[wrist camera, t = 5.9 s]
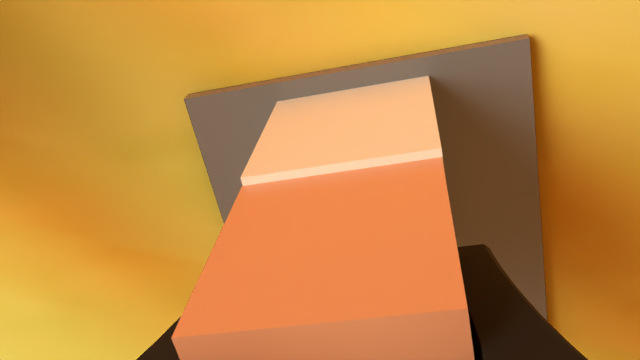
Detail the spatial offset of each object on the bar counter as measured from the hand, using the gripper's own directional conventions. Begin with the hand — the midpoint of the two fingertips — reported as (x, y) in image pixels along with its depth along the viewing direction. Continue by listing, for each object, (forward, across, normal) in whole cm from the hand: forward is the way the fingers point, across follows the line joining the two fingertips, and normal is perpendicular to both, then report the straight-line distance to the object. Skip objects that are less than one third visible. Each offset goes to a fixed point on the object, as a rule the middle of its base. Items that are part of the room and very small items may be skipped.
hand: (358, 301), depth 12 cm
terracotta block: (+1, 0, 0) cm, 1 cm away
